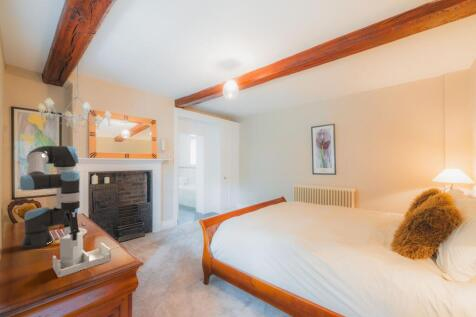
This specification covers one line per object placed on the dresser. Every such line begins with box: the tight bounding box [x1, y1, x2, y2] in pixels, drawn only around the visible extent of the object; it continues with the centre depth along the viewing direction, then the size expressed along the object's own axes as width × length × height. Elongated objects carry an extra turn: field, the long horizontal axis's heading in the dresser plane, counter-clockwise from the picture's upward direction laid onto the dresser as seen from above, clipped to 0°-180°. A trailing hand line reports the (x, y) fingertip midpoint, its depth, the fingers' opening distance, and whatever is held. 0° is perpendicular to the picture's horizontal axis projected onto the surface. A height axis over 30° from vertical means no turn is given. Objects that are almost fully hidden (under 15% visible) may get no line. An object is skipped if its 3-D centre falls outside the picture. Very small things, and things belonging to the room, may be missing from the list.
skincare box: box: [59, 231, 84, 269], centre depth 108 cm, size 8×7×16 cm
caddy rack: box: [52, 242, 112, 278], centre depth 111 cm, size 14×22×6 cm, turn 139°
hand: (70, 242), depth 108 cm, fingers open, 13 cm apart
